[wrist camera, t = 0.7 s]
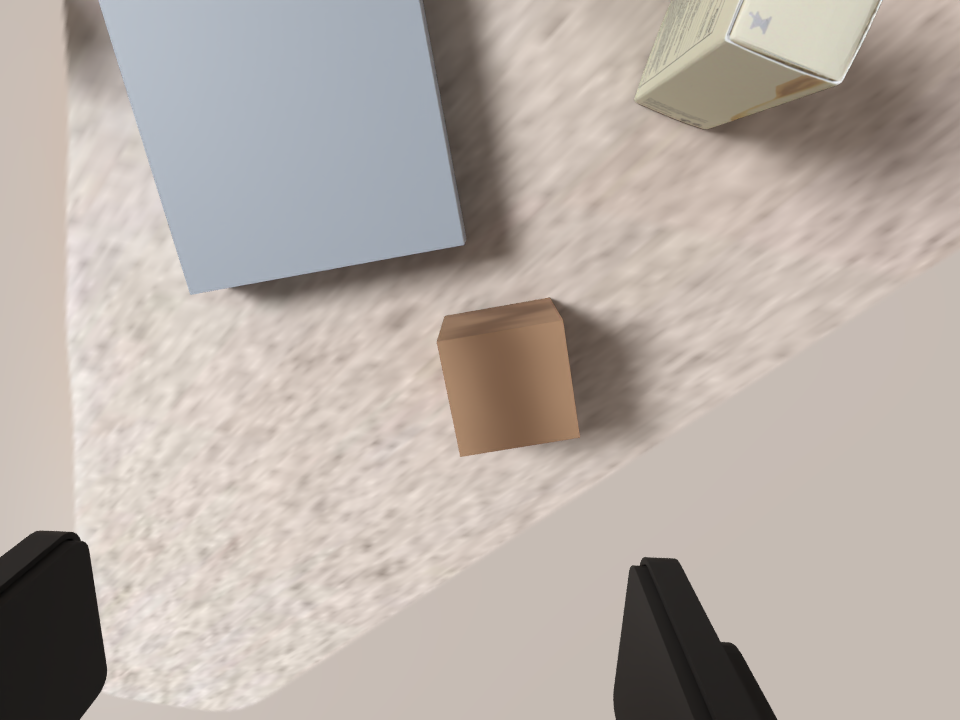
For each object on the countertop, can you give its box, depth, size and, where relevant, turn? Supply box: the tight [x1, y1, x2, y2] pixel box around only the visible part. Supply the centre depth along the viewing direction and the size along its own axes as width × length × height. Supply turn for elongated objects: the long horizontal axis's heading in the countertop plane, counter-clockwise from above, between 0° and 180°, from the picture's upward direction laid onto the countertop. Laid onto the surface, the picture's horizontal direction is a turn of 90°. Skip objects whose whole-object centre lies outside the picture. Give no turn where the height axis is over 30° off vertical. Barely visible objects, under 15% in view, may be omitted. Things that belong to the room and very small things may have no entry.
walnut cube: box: [437, 298, 580, 457], centre depth 32 cm, size 6×6×6 cm
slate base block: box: [98, 0, 466, 295], centre depth 30 cm, size 14×14×4 cm
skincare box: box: [634, 0, 883, 129], centre depth 25 cm, size 6×4×12 cm
